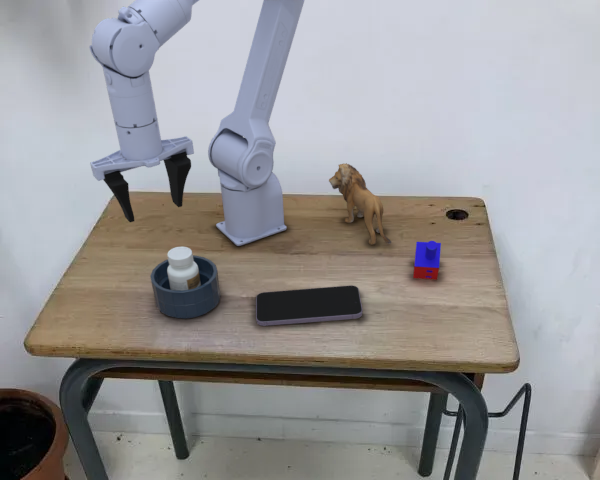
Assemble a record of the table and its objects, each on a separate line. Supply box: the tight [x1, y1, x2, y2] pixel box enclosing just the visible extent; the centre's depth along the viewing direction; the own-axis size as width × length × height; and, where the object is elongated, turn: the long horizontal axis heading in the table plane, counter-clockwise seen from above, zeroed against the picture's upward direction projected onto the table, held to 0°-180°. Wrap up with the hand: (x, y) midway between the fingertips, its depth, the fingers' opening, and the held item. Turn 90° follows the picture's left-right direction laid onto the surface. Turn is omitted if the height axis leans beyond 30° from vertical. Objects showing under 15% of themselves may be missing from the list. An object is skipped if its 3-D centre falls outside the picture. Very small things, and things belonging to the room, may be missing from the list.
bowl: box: [149, 254, 222, 319], centre depth 100 cm, size 9×9×5 cm
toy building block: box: [412, 240, 442, 281], centre depth 102 cm, size 4×4×8 cm
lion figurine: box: [328, 162, 392, 246], centre depth 112 cm, size 15×5×9 cm, turn 33°
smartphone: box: [255, 284, 363, 327], centre depth 99 cm, size 7×1×15 cm
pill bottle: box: [167, 246, 201, 291], centre depth 99 cm, size 4×4×8 cm
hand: (154, 211), depth 102 cm, fingers open, 7 cm apart
